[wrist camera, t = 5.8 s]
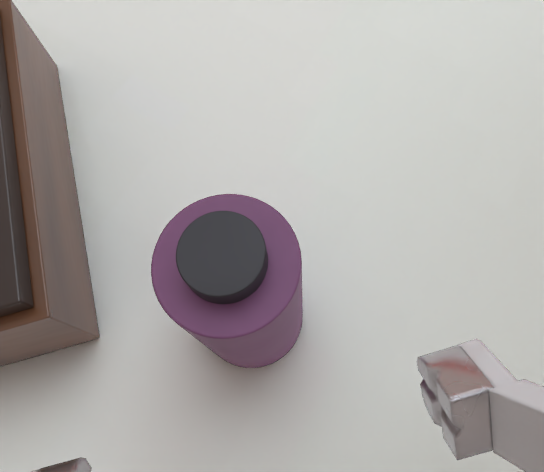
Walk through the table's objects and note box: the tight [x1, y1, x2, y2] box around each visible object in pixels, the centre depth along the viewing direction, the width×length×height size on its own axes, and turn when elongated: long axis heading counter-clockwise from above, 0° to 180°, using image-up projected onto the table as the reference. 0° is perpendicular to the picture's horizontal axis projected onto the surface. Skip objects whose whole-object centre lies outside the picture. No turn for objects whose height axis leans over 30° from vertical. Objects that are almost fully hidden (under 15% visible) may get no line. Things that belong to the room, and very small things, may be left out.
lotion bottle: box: [151, 194, 302, 368], centre depth 19 cm, size 5×5×10 cm
